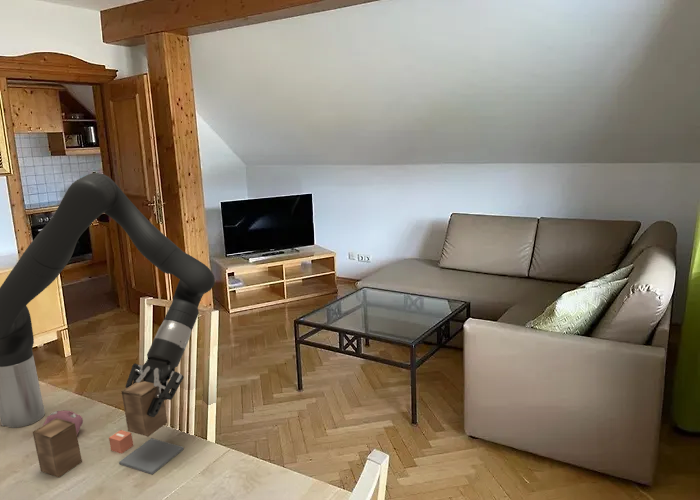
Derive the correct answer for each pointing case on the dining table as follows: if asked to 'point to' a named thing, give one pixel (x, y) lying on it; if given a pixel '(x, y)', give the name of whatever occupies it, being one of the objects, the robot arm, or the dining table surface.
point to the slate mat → (151, 456)
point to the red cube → (121, 441)
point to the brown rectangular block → (142, 409)
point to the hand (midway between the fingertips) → (139, 413)
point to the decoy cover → (57, 447)
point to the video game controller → (66, 418)
